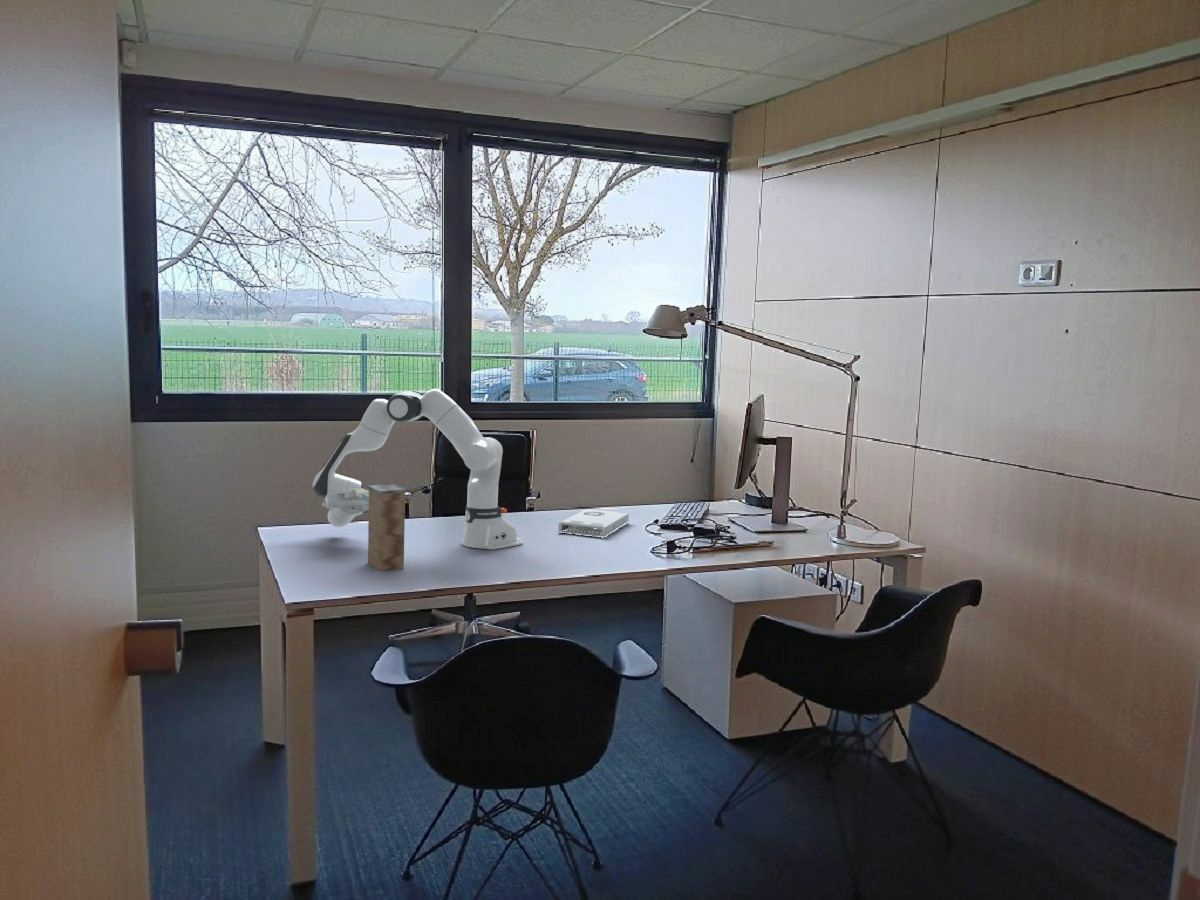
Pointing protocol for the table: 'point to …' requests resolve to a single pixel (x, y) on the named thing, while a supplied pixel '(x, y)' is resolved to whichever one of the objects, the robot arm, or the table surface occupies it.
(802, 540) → the table surface
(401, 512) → the walnut stand
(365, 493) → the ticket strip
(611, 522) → the power supply unit
